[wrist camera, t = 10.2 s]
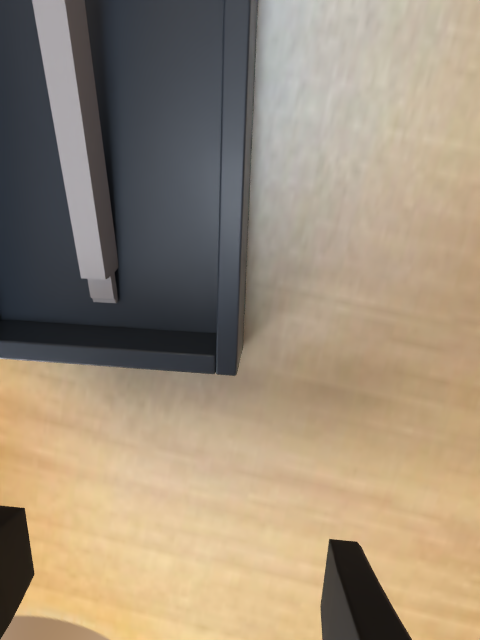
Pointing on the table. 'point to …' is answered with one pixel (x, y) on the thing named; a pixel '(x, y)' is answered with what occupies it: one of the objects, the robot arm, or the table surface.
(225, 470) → the table surface
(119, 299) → the tray
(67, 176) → the caliper
